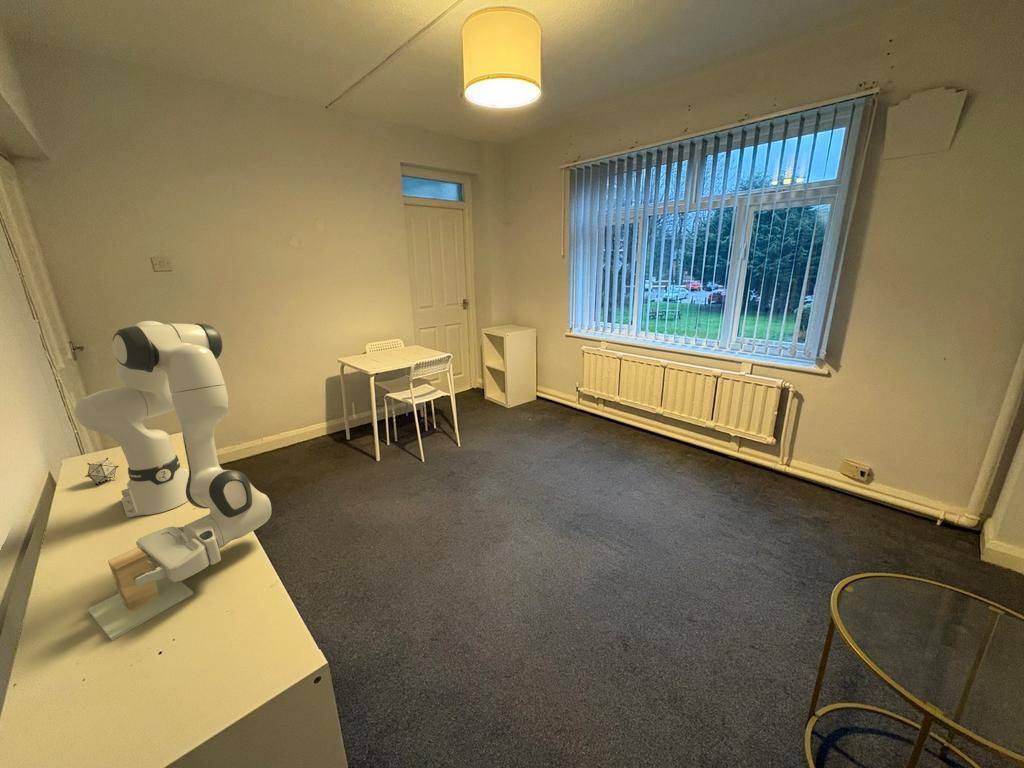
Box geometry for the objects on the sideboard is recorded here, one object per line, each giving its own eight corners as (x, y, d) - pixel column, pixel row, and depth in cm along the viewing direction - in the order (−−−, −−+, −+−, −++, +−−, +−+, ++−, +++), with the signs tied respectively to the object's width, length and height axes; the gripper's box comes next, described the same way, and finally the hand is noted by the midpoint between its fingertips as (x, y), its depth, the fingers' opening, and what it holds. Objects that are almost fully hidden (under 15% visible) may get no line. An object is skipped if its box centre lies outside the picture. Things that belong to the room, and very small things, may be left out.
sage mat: (89, 612, 89) (87, 609, 88) (167, 571, 100) (166, 569, 100) (111, 640, 82) (110, 637, 81) (193, 593, 93) (192, 591, 93)
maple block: (122, 602, 90) (107, 560, 87) (151, 587, 94) (137, 547, 91) (131, 612, 87) (115, 569, 84) (160, 596, 91) (146, 554, 88)
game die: (111, 488, 148) (122, 460, 151) (115, 486, 142) (126, 458, 146) (77, 485, 142) (89, 456, 145) (79, 483, 136) (91, 453, 140)
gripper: (178, 514, 103) (105, 545, 92) (217, 540, 93) (140, 579, 82) (184, 535, 105) (113, 569, 94) (223, 563, 95) (149, 605, 83)
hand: (126, 574), depth 88 cm, fingers open, 8 cm apart
